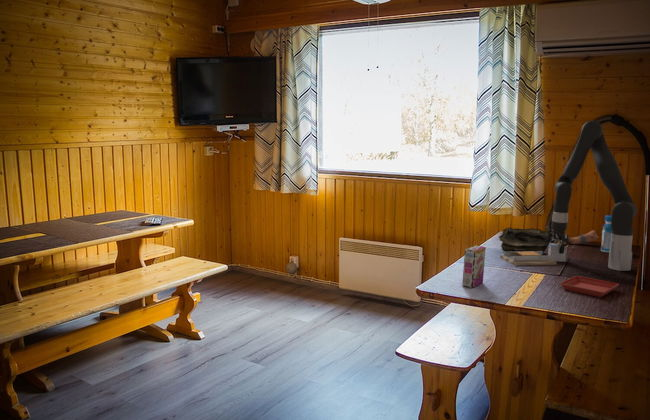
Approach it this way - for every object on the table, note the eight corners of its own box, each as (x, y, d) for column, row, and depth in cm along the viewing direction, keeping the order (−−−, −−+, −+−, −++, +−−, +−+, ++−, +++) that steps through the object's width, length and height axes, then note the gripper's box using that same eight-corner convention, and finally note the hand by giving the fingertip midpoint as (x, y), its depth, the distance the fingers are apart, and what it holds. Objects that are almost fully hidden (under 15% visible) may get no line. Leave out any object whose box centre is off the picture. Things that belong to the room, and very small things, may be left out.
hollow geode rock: (551, 263, 300) (555, 240, 308) (551, 250, 291) (555, 227, 298) (498, 255, 313) (503, 233, 320) (496, 243, 303) (501, 220, 310)
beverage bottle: (608, 253, 305) (611, 217, 302) (596, 249, 313) (600, 214, 310) (620, 252, 307) (624, 217, 304) (609, 249, 315) (612, 214, 312)
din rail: (552, 260, 281) (553, 255, 280) (513, 261, 277) (514, 256, 277) (541, 255, 291) (541, 250, 291) (503, 256, 288) (504, 251, 287)
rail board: (556, 264, 278) (556, 261, 278) (515, 265, 275) (515, 262, 275) (539, 257, 294) (539, 254, 294) (500, 257, 290) (500, 255, 290)
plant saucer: (558, 290, 237) (559, 282, 236) (575, 282, 249) (576, 275, 249) (603, 300, 224) (604, 292, 224) (619, 291, 237) (619, 283, 236)
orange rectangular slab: (540, 255, 281) (540, 254, 281) (523, 256, 280) (523, 255, 280) (532, 252, 288) (532, 251, 288) (516, 252, 286) (516, 251, 286)
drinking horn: (598, 246, 323) (600, 229, 321) (545, 243, 328) (547, 226, 327) (596, 244, 328) (598, 227, 326) (544, 241, 334) (545, 225, 332)
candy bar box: (472, 288, 235) (475, 251, 233) (461, 286, 238) (464, 249, 236) (483, 283, 244) (486, 246, 241) (473, 281, 247) (475, 244, 244)
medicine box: (563, 259, 289) (564, 243, 287) (565, 262, 284) (567, 245, 283) (547, 259, 289) (548, 243, 288) (549, 261, 285) (551, 244, 284)
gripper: (574, 223, 278) (571, 255, 280) (558, 218, 292) (555, 248, 294) (560, 223, 277) (557, 255, 279) (545, 218, 290) (542, 248, 293)
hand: (556, 251), depth 287 cm, fingers open, 8 cm apart
